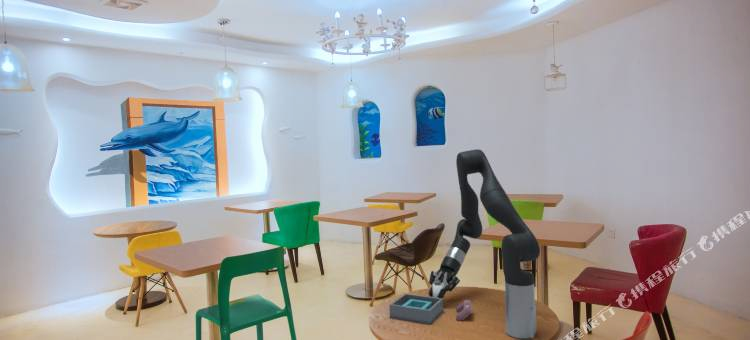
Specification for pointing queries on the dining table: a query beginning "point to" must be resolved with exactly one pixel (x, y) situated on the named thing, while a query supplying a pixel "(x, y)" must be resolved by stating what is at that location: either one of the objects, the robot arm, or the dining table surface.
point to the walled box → (416, 308)
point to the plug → (437, 288)
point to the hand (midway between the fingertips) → (434, 297)
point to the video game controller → (464, 310)
